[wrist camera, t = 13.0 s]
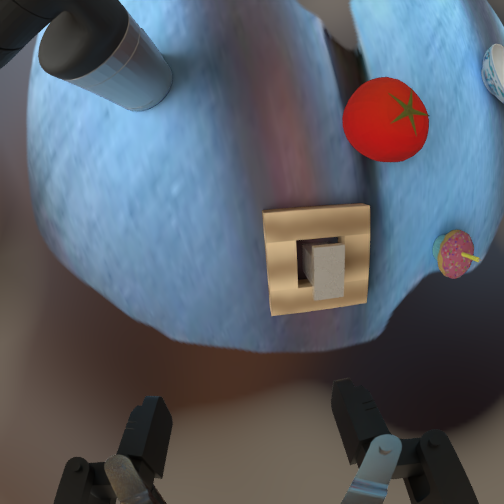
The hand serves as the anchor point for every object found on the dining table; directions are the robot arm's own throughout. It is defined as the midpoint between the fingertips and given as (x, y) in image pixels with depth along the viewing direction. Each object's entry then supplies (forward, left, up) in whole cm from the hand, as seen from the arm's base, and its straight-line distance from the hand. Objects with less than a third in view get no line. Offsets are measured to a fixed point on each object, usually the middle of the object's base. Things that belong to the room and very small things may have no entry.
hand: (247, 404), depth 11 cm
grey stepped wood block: (+3, +10, -29) cm, 31 cm away
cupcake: (+4, +35, -30) cm, 46 cm away
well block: (+3, +10, -29) cm, 31 cm away
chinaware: (-32, +56, -30) cm, 71 cm away
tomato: (-16, +19, -30) cm, 39 cm away
